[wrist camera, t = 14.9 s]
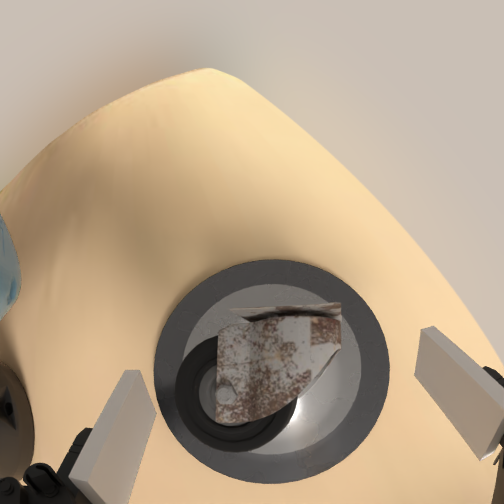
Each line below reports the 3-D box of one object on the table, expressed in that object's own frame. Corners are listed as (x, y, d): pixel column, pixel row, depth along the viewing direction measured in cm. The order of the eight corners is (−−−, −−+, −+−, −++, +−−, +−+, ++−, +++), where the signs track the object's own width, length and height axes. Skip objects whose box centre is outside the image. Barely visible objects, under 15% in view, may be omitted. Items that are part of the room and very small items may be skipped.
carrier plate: (126, 427, 21) (120, 427, 20) (208, 243, 30) (206, 236, 29) (347, 502, 16) (351, 506, 15) (401, 294, 25) (405, 288, 24)
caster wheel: (200, 434, 22) (205, 320, 25) (341, 441, 18) (341, 314, 22) (155, 447, 16) (162, 301, 20) (340, 467, 13) (340, 292, 16)
